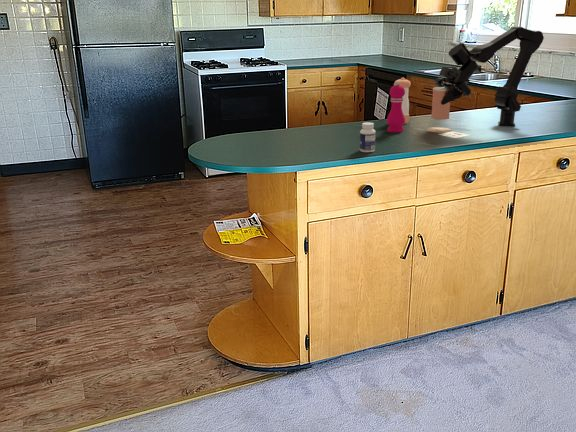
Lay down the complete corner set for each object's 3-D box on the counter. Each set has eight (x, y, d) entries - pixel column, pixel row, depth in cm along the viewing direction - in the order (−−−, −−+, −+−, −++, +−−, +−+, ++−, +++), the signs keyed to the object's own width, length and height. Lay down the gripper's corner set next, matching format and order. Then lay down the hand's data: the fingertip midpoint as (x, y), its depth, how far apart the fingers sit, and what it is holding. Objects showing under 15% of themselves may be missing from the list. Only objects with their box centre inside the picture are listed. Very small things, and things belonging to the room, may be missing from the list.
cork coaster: (427, 127, 245) (427, 126, 245) (451, 128, 242) (452, 127, 242) (425, 132, 236) (425, 131, 236) (451, 133, 233) (451, 132, 233)
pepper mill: (404, 133, 235) (407, 82, 228) (386, 132, 236) (388, 82, 230) (404, 129, 242) (407, 80, 235) (386, 129, 243) (388, 80, 236)
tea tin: (442, 116, 240) (444, 86, 236) (449, 119, 236) (451, 88, 232) (430, 117, 239) (432, 87, 235) (438, 120, 234) (440, 89, 230)
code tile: (452, 132, 236) (452, 131, 236) (470, 135, 229) (470, 134, 229) (437, 135, 231) (437, 134, 231) (455, 138, 224) (455, 137, 224)
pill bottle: (358, 149, 210) (358, 122, 207) (372, 148, 211) (373, 121, 207) (361, 152, 205) (361, 125, 202) (376, 152, 206) (377, 124, 202)
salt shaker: (410, 121, 259) (413, 77, 252) (406, 124, 252) (409, 78, 246) (394, 120, 262) (396, 76, 255) (390, 123, 255) (392, 78, 249)
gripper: (439, 57, 239) (414, 86, 239) (467, 61, 222) (439, 92, 223) (454, 76, 244) (429, 104, 245) (482, 81, 227) (456, 111, 228)
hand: (438, 103), depth 235 cm, fingers closed on tea tin, 5 cm apart
